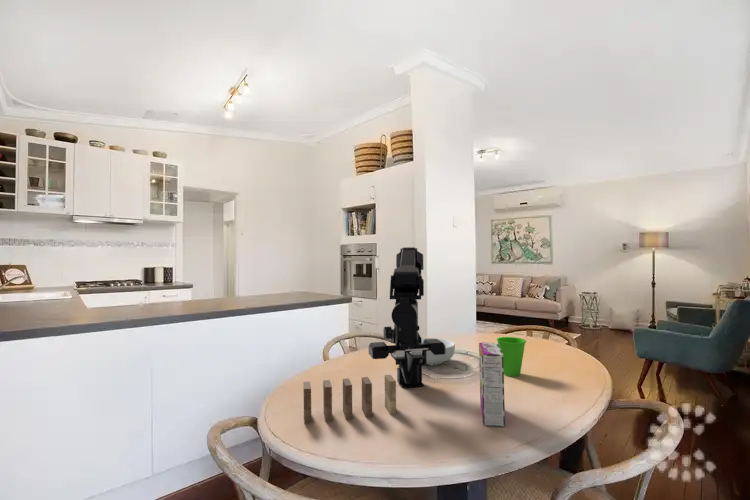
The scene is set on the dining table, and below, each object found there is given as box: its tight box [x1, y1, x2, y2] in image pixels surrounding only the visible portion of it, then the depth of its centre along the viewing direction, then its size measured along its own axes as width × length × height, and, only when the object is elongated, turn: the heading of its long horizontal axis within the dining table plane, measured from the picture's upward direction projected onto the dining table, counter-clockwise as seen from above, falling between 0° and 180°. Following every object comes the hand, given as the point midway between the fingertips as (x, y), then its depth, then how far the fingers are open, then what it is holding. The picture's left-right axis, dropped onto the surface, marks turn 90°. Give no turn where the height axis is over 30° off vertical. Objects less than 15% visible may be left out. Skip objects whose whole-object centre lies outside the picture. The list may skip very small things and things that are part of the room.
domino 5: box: [384, 374, 397, 415], centre depth 96 cm, size 2×5×8 cm, turn 12°
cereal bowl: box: [421, 337, 456, 365], centre depth 137 cm, size 17×17×7 cm
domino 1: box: [302, 381, 312, 425], centre depth 91 cm, size 2×5×8 cm, turn 12°
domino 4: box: [361, 376, 373, 418], centre depth 94 cm, size 2×5×8 cm, turn 12°
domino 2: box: [322, 379, 333, 422], centre depth 92 cm, size 2×5×8 cm, turn 12°
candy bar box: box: [478, 341, 506, 428], centre depth 91 cm, size 11×5×16 cm, turn 168°
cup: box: [495, 336, 527, 378], centre depth 122 cm, size 9×9×11 cm
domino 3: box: [342, 378, 353, 420], centre depth 93 cm, size 2×5×8 cm, turn 12°
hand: (407, 382), depth 96 cm, fingers closed
